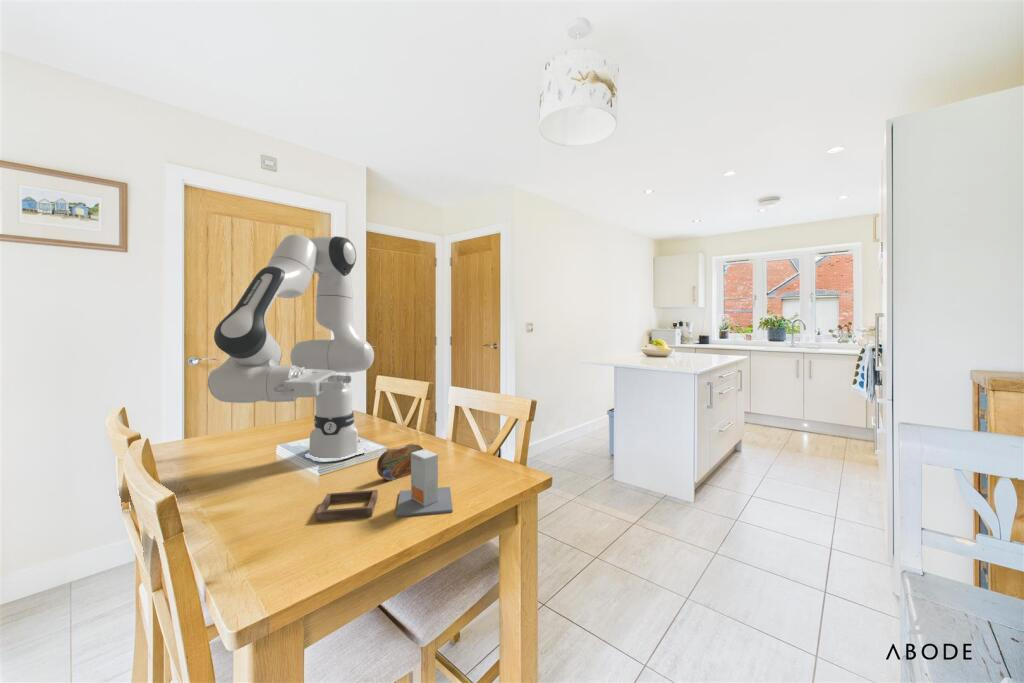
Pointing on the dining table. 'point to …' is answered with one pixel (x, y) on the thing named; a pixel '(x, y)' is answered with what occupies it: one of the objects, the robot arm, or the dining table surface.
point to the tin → (396, 462)
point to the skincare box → (424, 477)
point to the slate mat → (414, 508)
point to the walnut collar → (347, 513)
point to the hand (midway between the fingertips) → (347, 382)
